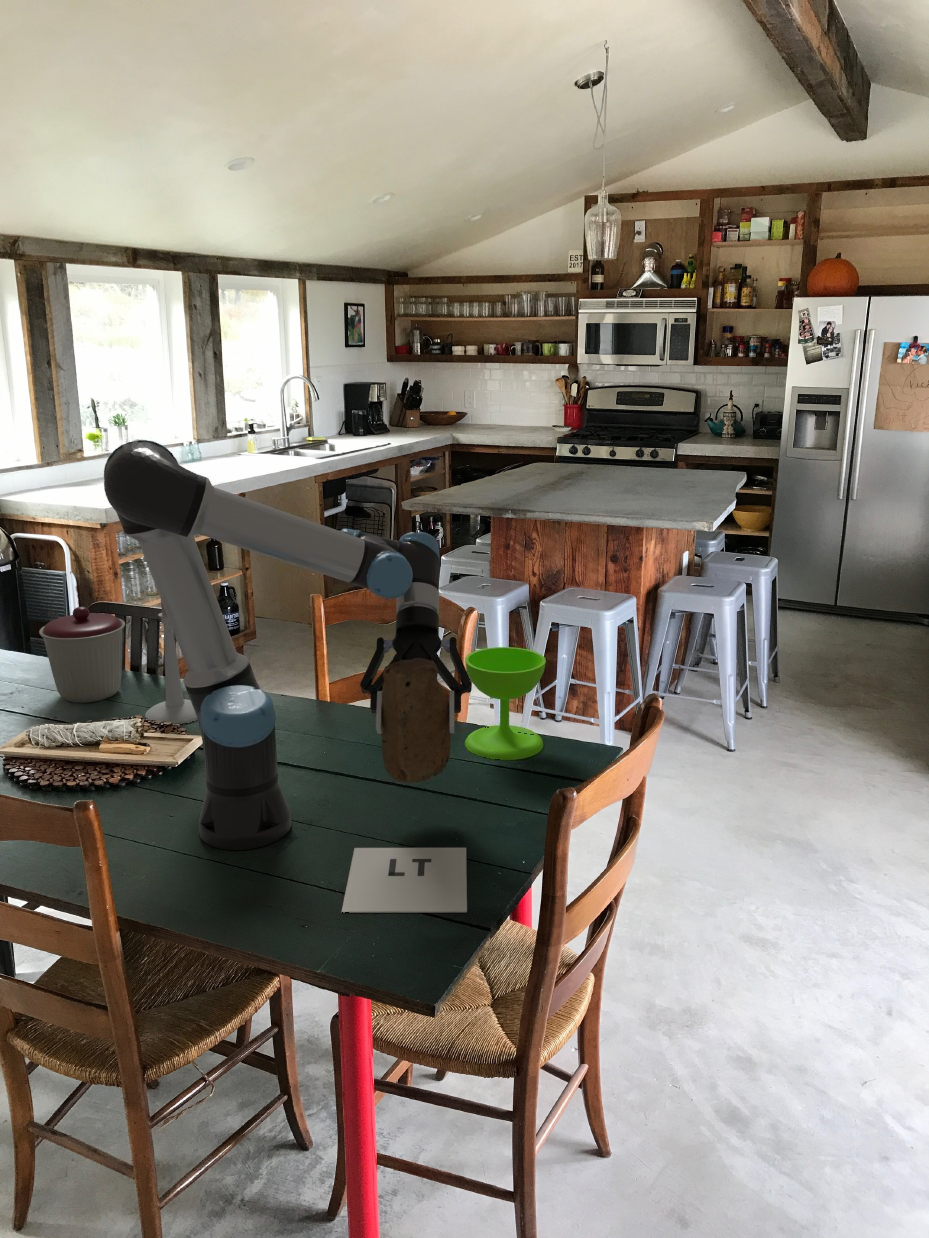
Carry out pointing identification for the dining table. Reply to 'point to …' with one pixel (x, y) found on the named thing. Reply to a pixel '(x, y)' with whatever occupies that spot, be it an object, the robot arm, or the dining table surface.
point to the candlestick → (171, 684)
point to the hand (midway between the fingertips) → (415, 730)
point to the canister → (85, 654)
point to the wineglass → (504, 699)
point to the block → (414, 721)
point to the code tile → (407, 881)
